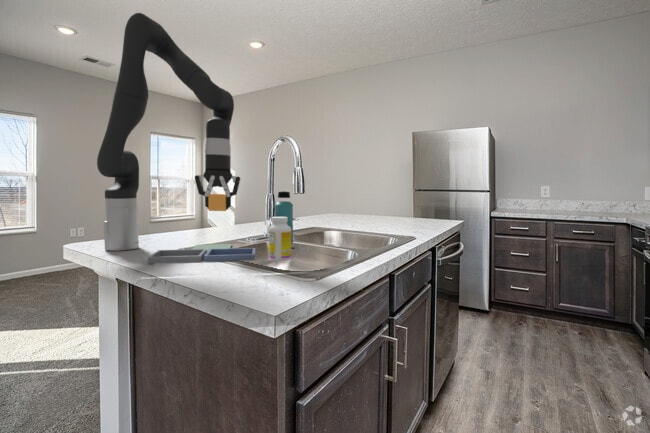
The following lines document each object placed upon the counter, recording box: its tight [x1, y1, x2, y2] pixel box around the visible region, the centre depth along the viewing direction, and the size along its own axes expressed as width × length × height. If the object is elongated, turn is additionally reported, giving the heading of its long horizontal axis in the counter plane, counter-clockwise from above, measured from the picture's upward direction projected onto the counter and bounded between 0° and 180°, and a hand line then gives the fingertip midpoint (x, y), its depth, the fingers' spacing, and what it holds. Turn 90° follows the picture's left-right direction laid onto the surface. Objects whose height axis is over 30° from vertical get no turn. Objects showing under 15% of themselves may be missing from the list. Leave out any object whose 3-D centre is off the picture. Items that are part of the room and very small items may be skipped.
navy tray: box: [203, 247, 256, 262], centre depth 105 cm, size 14×11×2 cm
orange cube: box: [208, 193, 228, 212], centre depth 109 cm, size 5×5×5 cm
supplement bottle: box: [268, 216, 292, 262], centre depth 103 cm, size 7×7×13 cm
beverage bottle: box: [273, 191, 294, 247], centre depth 119 cm, size 6×7×20 cm
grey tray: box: [146, 248, 207, 266], centre depth 103 cm, size 14×11×2 cm
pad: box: [192, 243, 233, 252], centre depth 117 cm, size 12×12×1 cm
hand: (218, 208), depth 109 cm, fingers closed on orange cube, 5 cm apart
